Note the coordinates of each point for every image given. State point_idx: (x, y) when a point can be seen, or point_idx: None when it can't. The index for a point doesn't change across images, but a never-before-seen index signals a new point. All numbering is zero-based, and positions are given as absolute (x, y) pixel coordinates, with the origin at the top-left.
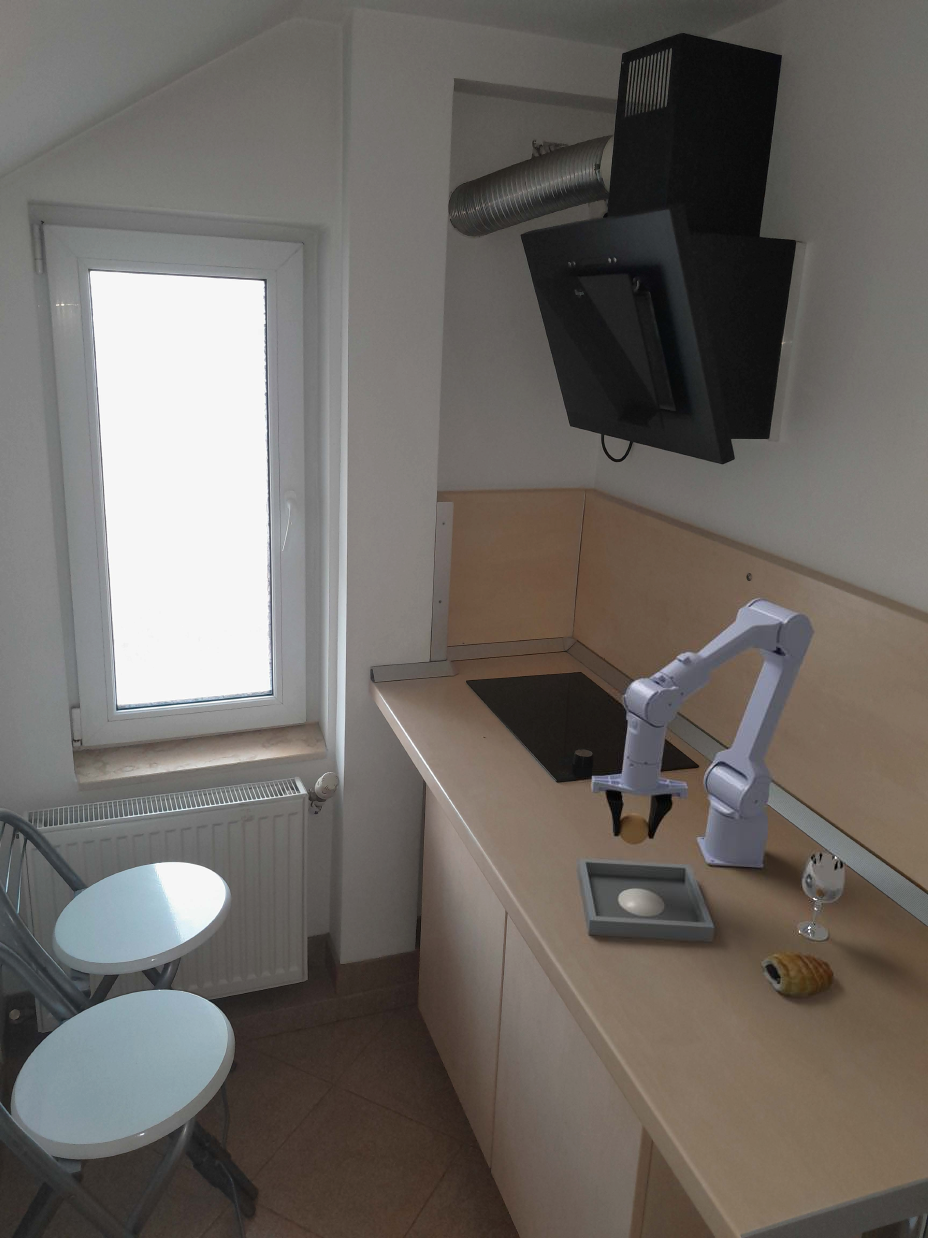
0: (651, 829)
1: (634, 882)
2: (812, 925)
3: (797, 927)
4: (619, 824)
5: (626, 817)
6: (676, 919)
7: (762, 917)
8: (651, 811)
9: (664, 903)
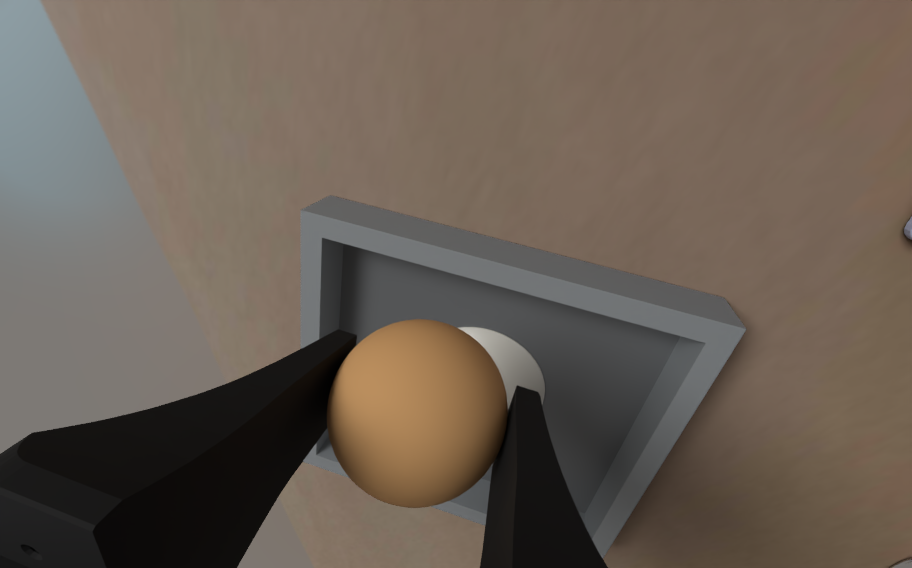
0: (488, 501)
1: (496, 297)
2: None
3: (901, 565)
4: (301, 458)
5: (338, 451)
6: None
7: (828, 505)
8: (501, 526)
9: (545, 401)
